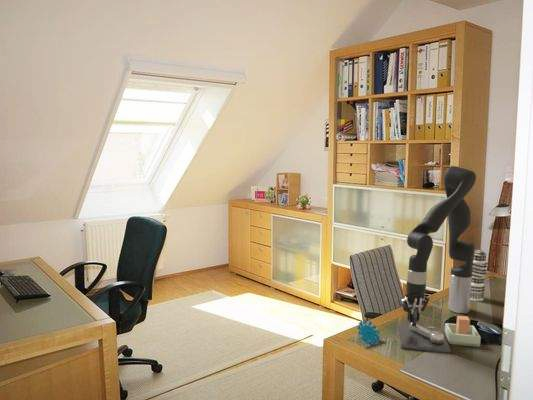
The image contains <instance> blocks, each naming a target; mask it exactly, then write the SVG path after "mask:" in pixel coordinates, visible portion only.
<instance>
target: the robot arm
mask: <svg viewBox="0 0 533 400" xmlns="http://www.w3.org/2000/svg"><path fill="white" fill-rule="evenodd" d="M443 177H444V178H443V184H444V190H445V194H446V198H445V199H444V200H442V201H439V202H438V203H436V204H434V205H433V206H432V207H431V208H430V209H429V210H428V212H427V214H426V215H425V216H424V218H423V219H422V221H421V222H420V223H418V224H417V225H416V226H415V227H414V228H413V229H412V230H411V231H410V232H409V233H408V235H407V238H406V243H407V246H408V247H410V248H411V249H413V250H414V249H415V250H417V251H416V254H412V255H410V257H409V258H408V260H409V261H408V270H407V276H406V289H405V290H406V295H405V297H404V298H400V304H401V306H402V309H403V311H404V312H406V313H407V318H406V319H407V320H408V322H409V323H411V322H413V315H414V314H413V313H414V309H415V308H416V309H417V322H419V320H420V316H421V315H420V314H421V312H425V309H426V308H427V307H428V306H427V305H428V303H429V302H430V298H429V297H427V296H426V295H425V294H426V290H427V289H426V288H427V271H428V270H427V269H428V261H429V258H430V256H431V253H432V250H433V247H434V240H433V238H432V236H431V235H429V234H433V233H437V232H438V231H439V229H440V228H441V227H442V225H443V223H444V222H445V221H446V219H447V221H448V233H449V235H448V237H449V238H448V257H449V258H450V259H451V260H453V261H458V262H459V261H460V262H465V263H463V264H461V265H456V266H453V267H451V269H450V280H449V291H448V292H449V293H448V305H447V306H448V307H447V308H448V310H450V311H451V312H454V313H458V314H468V313H469V312H470V307H471V306H470V305H471V304H470V303H471V300H470V295H471V282H472V268H473V259H474V252H475V250H476V249H475V248H476V247H475V243H474V242H471V241H465V240H464V241H462V240H458V239H459V238H460V237H461V235H462V234H463V233H465V231H467V229H468V228H469V227H470V225H471V220H472V219H471V218H472V216H471V209H470V207H469V205H468V203H467V202H466V200H465V199H464V198H465V197H466V196H467V195H468V193H469V192H470V191H472V189H473V187H474V186H475V183H476V179H477V175H476V172H475V171H473V170H470V169H467V168H464V167H460V166H457V165H451V166H449V167H448V168H447V169H445V173H444V176H443Z"/></svg>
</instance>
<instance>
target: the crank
mask: <svg viewBox="0 0 533 400" xmlns="http://www.w3.org/2000/svg"><path fill="white" fill-rule="evenodd" d="M413 314H414V315H413V322H410V323H409V324H408V325H409V328H410V329H412V330H414V331H416V332H418V333H420V334H422V335H424V336H426V337H428V338H430V341H431V342H433V343H436V344H442V343H443V342H444V336H445V333H444V332H443V331H442V332H443V333H442V332H439V331H430V330H428V329H426V328H423V327H421V326H422V325H420V324H418V323H417V309H416V308H415V309H414V313H413Z"/></svg>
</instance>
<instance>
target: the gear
mask: <svg viewBox="0 0 533 400" xmlns="http://www.w3.org/2000/svg"><path fill="white" fill-rule="evenodd" d="M371 325H372V321H367V320H363V321H360V322H358V325H357V327H356V329H357V330H358V331H357V335H359V336H360V335H361V336H360V340H361V341H364V340H365V341H364V343H365V344H366V345H368V344H370V346H374V345H375V344H378V343H379V340H380V338H381V336H380V335H379V334H380V333H381V332H382V330H381V329H378V330H375V329H377V326H376V325H375V324H374V325H372V326H371Z"/></svg>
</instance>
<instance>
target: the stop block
mask: <svg viewBox="0 0 533 400" xmlns="http://www.w3.org/2000/svg"><path fill="white" fill-rule="evenodd" d="M455 324H456V334H463V335H469V328H470V325H471V319H470V318H469V316H467V315H466V316H465V315H456V323H455Z"/></svg>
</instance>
